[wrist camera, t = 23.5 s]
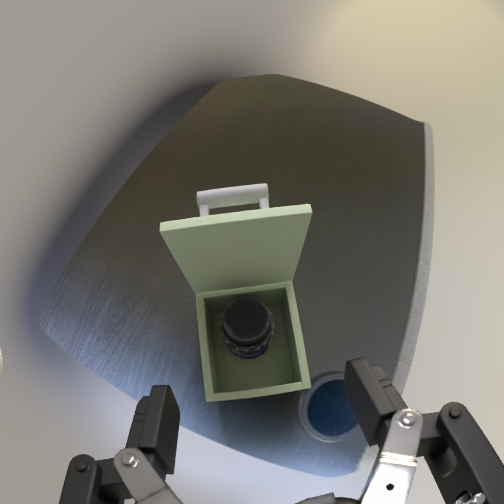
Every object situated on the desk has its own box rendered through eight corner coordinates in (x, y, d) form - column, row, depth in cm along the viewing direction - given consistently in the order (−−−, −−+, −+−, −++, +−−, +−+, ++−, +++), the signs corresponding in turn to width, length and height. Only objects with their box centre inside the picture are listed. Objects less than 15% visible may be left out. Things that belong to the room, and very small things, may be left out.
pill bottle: (221, 355, 36) (208, 343, 26) (229, 312, 39) (220, 284, 29) (268, 362, 36) (272, 353, 26) (274, 318, 38) (280, 293, 28)
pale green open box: (300, 387, 35) (311, 387, 28) (216, 398, 34) (206, 401, 27) (285, 299, 40) (291, 279, 33) (206, 309, 40) (195, 291, 33)
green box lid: (312, 212, 21) (297, 165, 23) (159, 231, 20) (162, 181, 22) (292, 281, 33) (284, 243, 35) (194, 293, 32) (192, 255, 34)
